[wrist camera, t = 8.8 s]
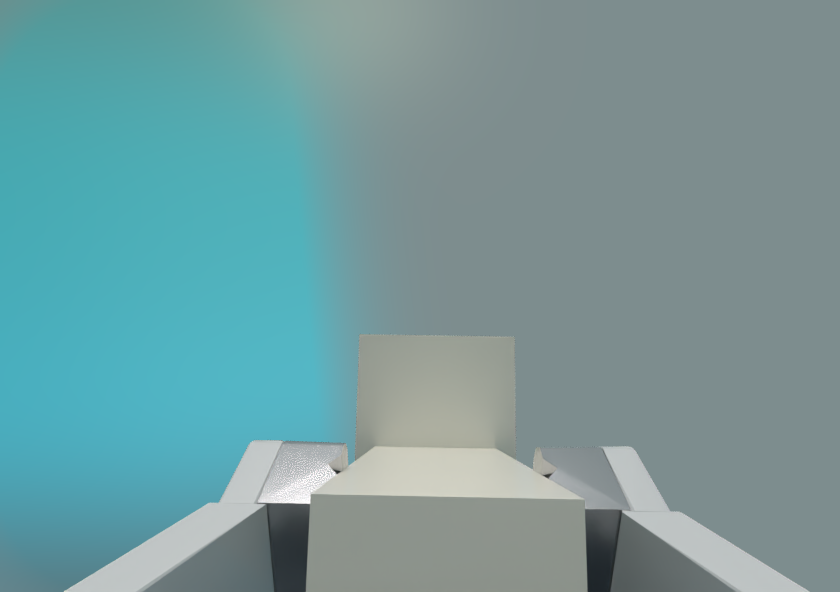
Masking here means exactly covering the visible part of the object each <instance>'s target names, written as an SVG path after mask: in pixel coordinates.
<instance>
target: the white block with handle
mask: <svg viewBox="0 0 840 592" xmlns="http://www.w3.org/2000/svg"><path fill="white" fill-rule="evenodd" d="M514 339H515V338H514V337H490V336H489V337H488V336H429V335H426V336H425V335H370V334H369V335H364V334H360V336H359V364H358V391H357V392H358V393H357V417H356V445H355V462H353V463H352V464H351V465H349V466H348V467H347V468H346V469H344V470H343V471H341V472H340V473H338V474H337V475H336V476H334V477H333V478H332V479H330V480H329V481H328V482H326V483H325V484H323V485H322V486H321V487H319V488H318V489H317V490H315V491H314V492H313V493H311V496H310V516H309V536H308V556H307V576H306V592H588V591H587V559H586V528H585V499H583V498H581V497H579V496H578V495H576V494H574V493H572V492H571V491H569V490H567V489H565V488H564V487H562V486H560V485H558V484H557V483H555V482H553V481H552V480H549V479H548V478H546V477H545V476H543V475H540V474H538V473H537V472H535V471H533V470H532V469H531V468H529V467H527V466H525V465H524V464H522V463H520V462H518V461H517V460H516V422H515V421H516V419H515V418H516V417H515V340H514Z"/></svg>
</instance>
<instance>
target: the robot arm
mask: <svg viewBox="0 0 840 592" xmlns="http://www.w3.org/2000/svg"><path fill="white" fill-rule="evenodd" d="M347 467H348V453H347V446H346V443H329V442H328V443H327V442H303V441H302V442H301V441H285V442H284V441H282V440H281V441H280V440H255V441H253V442H251V443H250V444H249V445H248V447H247V449H246V451H245V453H244V455H243V457H242V459H241V461H240V463H239V465H238V467H237V469H236V470H235V472H234V474H233V477H232V478H231V480H230V482H229V484H228V486H227V488H226V490H225V492H224V494H223V496H222V498H221V499H220V501H219V503H208V504H207V505H205V506H204V507H202V508H200V509H198V510H197V511H195V512H194V513H192V514H190V515H189V516H187V517H185V518H184V519H182V520H180V521H179V522H177V523H176V524H174V525H172V526H171V527H169V528H168V529H166V530H164V531H163V532H161V533H159V534H158V535H156V536H155V537H153V538H151V539H150V540H148V541H146V542H145V543H143V544H141V545H140V546H138V547H136V548H135V549H133V550H131V551H130V552H128V553H126V554H125V555H123V556H121V557H120V558H118V559H117V560H115V561H113V562H112V563H110V564H109V565H107V566H105V567H103V568H102V569H100V570H99V571H97V572H96V573H94V574H92V575H90V576H89V577H87V578H85V579H84V580H82V581H80V582H79V583H77V584H76V585H74V586H72V587H71V588H69V589H67V590H66V591H64V592H306V576H307V556H308V536H309V516H310V496H311V493H313V492H314V491H315V490H317V489H318V488H319V487H321V486H322V485H323V484H325V483H326V482H328V481H329V480H330V479H332V478H333V477H334V476H336V475H337V474H338V473H340V472H341V471H343V470H344V469H346V468H347ZM533 471H535V472H537V473H538V474H540V475H543V476H545V477H546V478H548V479H549V480H552V481H553V482H555V483H557V484H558V485H560V486H562V487H564V488H565V489H567V490H569V491H571V492H572V493H574V494H576V495H578V496H579V497H581V498H583V499H585V528H586V559H587V591H588V592H809V591H807V590H806V589H804V588H803V587H801V586H799V585H798V584H796V583H794V582H793V581H791V580H790V579H788V578H786V577H785V576H783V575H781V574H780V573H778V572H777V571H775V570H773V569H772V568H770V567H769V566H767V565H765V564H764V563H762V562H761V561H759V560H757V559H755V558H754V557H752V556H751V555H749V554H748V553H746V552H744V551H743V550H741V549H739V548H738V547H736V546H735V545H733V544H731V543H730V542H728V541H727V540H725V539H723V538H722V537H720V536H718V535H717V534H715V533H714V532H712V531H710V530H709V529H707V528H706V527H704V526H702V525H701V524H699V523H697V522H696V521H694V520H693V519H691V518H689V517H687V516H686V515H684V514H683V513H681V512H670V510H669V508H668V507H667V505H666V503H665V501H664V500H663V498H662V496H661V494H660V493H659V491H658V489H657V488H656V486H655V484H654V482H653V481H652V479H651V477H650V475H649V474H648V472H647V470H646V469H645V467H644V465H643V463H642V462H641V460H640V458H639V456H638V455H637V453H636V451H635V450H634V449H633V448H631V447H630V446H620V447H619V446H616V447H544V448H543V447H542V448H541V447H540V448H536V451H535V455H534V464H533Z"/></svg>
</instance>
